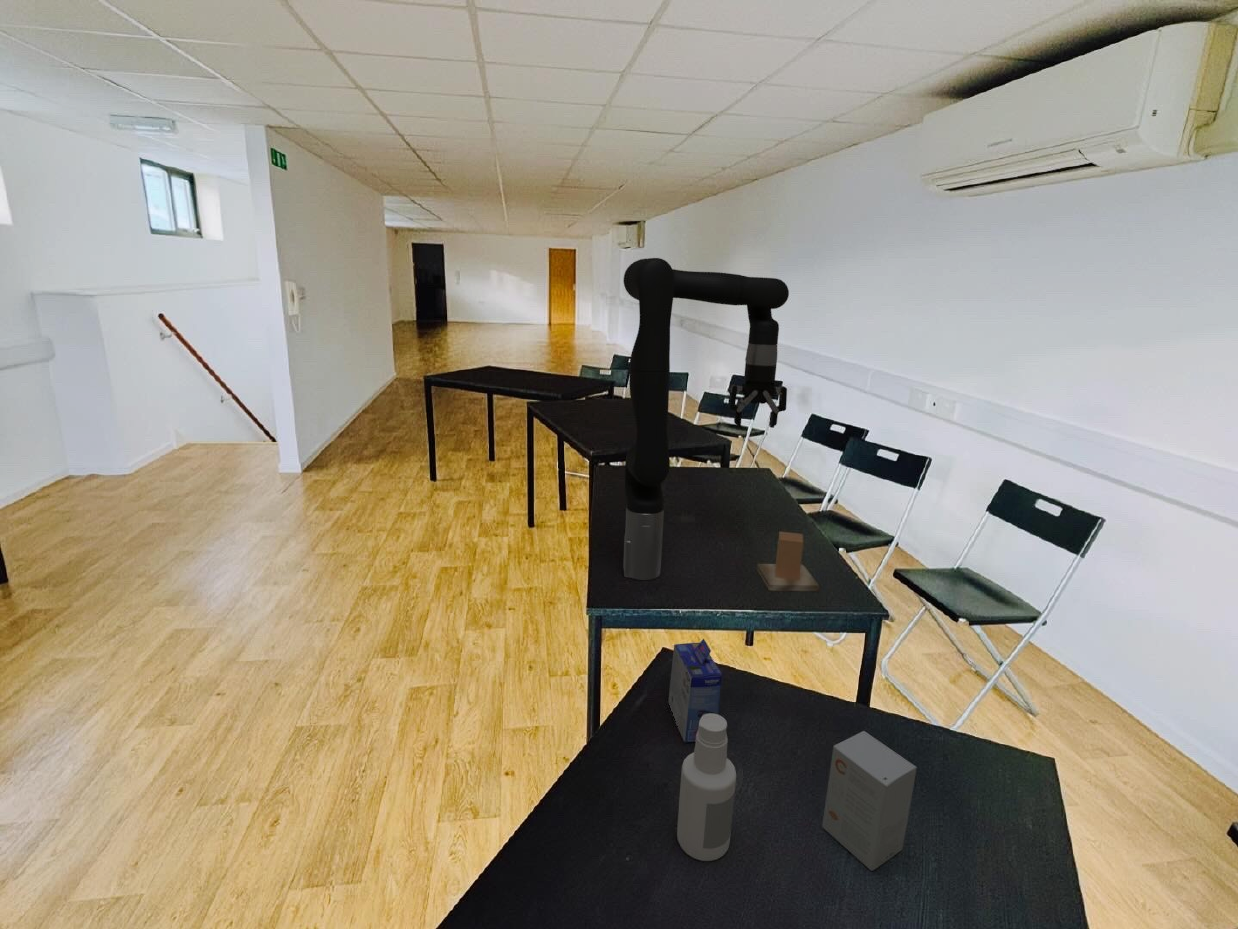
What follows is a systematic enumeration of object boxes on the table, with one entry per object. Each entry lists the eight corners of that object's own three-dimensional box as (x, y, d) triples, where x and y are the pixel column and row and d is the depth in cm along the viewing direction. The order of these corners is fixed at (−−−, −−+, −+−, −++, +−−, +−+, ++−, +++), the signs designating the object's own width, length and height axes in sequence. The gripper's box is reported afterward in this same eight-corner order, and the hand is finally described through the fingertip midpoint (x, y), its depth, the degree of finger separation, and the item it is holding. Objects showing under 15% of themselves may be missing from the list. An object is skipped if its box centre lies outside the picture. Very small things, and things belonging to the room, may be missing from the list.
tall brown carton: (775, 577, 156) (779, 539, 153) (775, 568, 161) (779, 531, 158) (798, 580, 154) (803, 542, 152) (797, 570, 160) (802, 534, 157)
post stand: (769, 590, 152) (772, 559, 150) (756, 569, 164) (759, 540, 161) (818, 591, 153) (822, 560, 150) (802, 569, 164) (805, 540, 162)
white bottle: (729, 867, 79) (741, 745, 74) (674, 857, 80) (683, 736, 75) (729, 823, 85) (741, 708, 80) (679, 815, 86) (687, 701, 81)
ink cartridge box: (718, 741, 100) (725, 661, 97) (684, 745, 99) (690, 664, 95) (698, 702, 110) (703, 628, 106) (667, 706, 109) (672, 630, 105)
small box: (903, 851, 82) (919, 767, 78) (871, 873, 78) (886, 786, 75) (851, 808, 88) (863, 729, 85) (820, 827, 85) (832, 745, 81)
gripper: (735, 363, 152) (730, 429, 156) (794, 365, 153) (787, 430, 157) (729, 359, 159) (724, 423, 164) (785, 361, 160) (778, 424, 164)
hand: (755, 426), depth 160 cm, fingers open, 8 cm apart
